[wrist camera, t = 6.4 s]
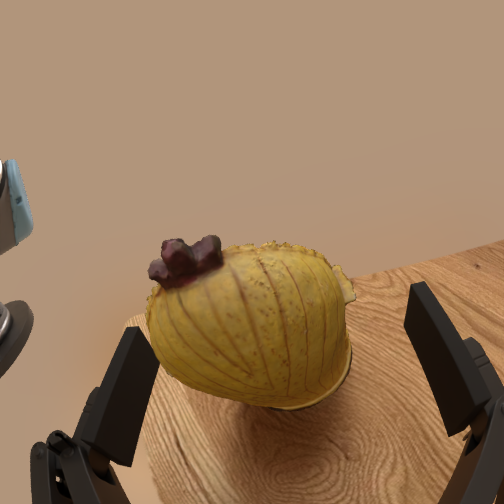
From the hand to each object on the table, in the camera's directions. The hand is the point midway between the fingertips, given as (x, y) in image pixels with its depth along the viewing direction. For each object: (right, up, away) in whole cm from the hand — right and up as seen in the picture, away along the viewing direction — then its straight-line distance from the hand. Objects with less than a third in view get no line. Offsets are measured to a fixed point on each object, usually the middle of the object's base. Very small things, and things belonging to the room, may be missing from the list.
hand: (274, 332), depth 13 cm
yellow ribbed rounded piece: (+2, -6, +5) cm, 8 cm away
